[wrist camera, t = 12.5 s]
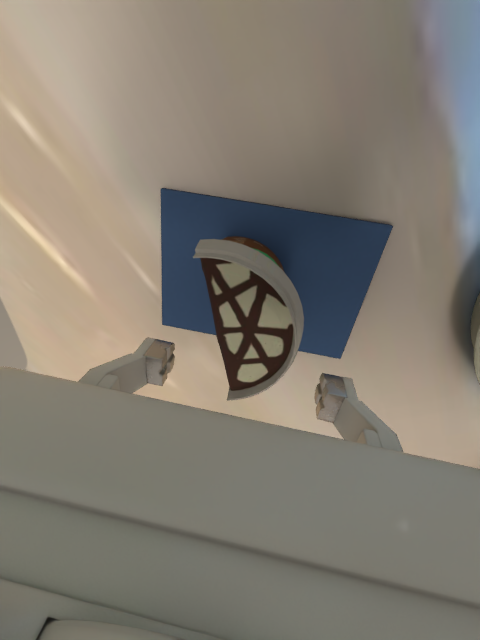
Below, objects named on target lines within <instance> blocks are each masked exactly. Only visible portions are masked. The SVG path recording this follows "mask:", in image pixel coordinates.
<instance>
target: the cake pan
mask: <svg viewBox="0 0 480 640" xmlns="http://www.w3.org/2000/svg"><path fill="white" fill-rule="evenodd" d="M471 340H472V344H473V348H474V366H475V372H476V376H477V379H478V382H479V385H480V293H479V295H478V297H477V299H476V302H475V305H474V309H473V313H472V318H471Z"/></svg>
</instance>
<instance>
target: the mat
mask: <svg viewBox="0 0 480 640" xmlns="http://www.w3.org/2000/svg"><path fill="white" fill-rule="evenodd" d="M392 228H393V226H392V225H389V224H383V223H377V222H371V221H364V220H358V219H352V218H346V217H340V216H333V215H327V214H321V213H315V212H309V211H302V210H296V209H290V208H284V207H278V206H271V205H265V204H259V203H253V202H247V201H241V200H234V199H228V198H222V197H216V196H210V195H203V194H197V193H191V192H185V191H179V190H172V189H166V188H161V250H162V325H166V326H172V327H177V328H182V329H187V330H192V331H198V332H203V333H208V334H213V335H216V330H215V325H214V319H213V314H212V308H211V303H210V298H209V294H208V289H207V284H206V280H205V276H204V272H203V270H202V265H201V260H200V258H193V256H194V255H195V253H196V252H195V248H196V246H197V244H198V243H199V241H200V240H204V239H218V240H222V239H224V238H225V237H231V236H239V237H246V238H250V239H253V240H256V241H258V242H260V243H262V244H263V245H265V246H267V247H268V248H269V249H270V250H271V251H272V252H273V253H274V254H275V255H276V256H277V258H278V259H279V261H280V262H281V264H282V266H283V269H284V272H285V274H286V275H287V276H288V278H289V279H290V280H291V282H292V283H293V285H294V287H295V289H296V291H297V293H298V295H299V298H300V301H301V304H302V309H303V315H304V328H303V334H302V338H301V342H300V345H299V349H298V351H302V352H307V353H312V354H318V355H323V356H328V357H333V358H339V359H340V358H341V356H342V353H343V351H344V348H345V346H346V343H347V341H348V338H349V336H350V333H351V331H352V328H353V325H354V323H355V320H356V318H357V315H358V313H359V310H360V308H361V305H362V303H363V300H364V298H365V295H366V293H367V290H368V288H369V285H370V283H371V280H372V278H373V275H374V273H375V270H376V268H377V265H378V263H379V260H380V258H381V255H382V253H383V250H384V248H385V245H386V243H387V240H388V238H389V235H390V233H391V230H392Z"/></svg>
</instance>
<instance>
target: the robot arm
mask: <svg viewBox="0 0 480 640" xmlns="http://www.w3.org/2000/svg"><path fill="white" fill-rule="evenodd" d="M174 350H175V344H174V343H171V342H167V341H162V340H158V339H153V338H146V339H145V340H144V341H143V343H142V344H141V345H140V346H139V348H138V349H137V350H136V351H135V352H134V354H128V355H126V356H123V357H121V358H118V359H115V360H113V361H110V362H108V363H105V364H103V365H100V366H98V367H95V368H92V369H90V370H89V371H88V372H87V373H86V374H85V375H84V376H83V377H82V378H81V379H80V380H79V381H78V382H76V381H71V380H66V379H62V378H57V377H52V376H48V375H43V374H39V373H34V372H29V371H25V370H21V369H16V368H12V367H4V366H3V367H0V640H480V469H478V468H473V467H468V466H464V465H459V464H454V463H450V462H445V461H440V460H436V459H431V458H426V457H422V456H417V455H412V454H408V453H404V452H403V450H402V447H401V445H400V442H399V440H398V437H397V435H396V434H395V433H394V432H393V431H392V430H391V429H390V428H389V427H388V426H387V425H386V424H385V423H384V422H383V421H382V420H381V419H379V418H378V417H377V416H376V415H375V414H374V413H373V412H372V411H371V410H370V409H369V408H368V407H367V406H366V405H365V404H364V403H363V402H362V401H359V400H358V397H357V394H356V391H355V387H354V384H353V381H352V379H351V378H347V377H340V376H335V375H329V374H324V373H322V374H321V376H320V383H319V384H318V385H317V387H316V390H315V403H316V404H317V407H316V415H317V419H320V420H324V421H328V422H332V423H333V424H334V426H335V427H336V428H337V430H338V431H339V433H340V434H341V436H342V437H343V438H344V440H343V439H339V438H334V437H329V436H325V435H320V434H315V433H311V432H306V431H302V430H297V429H292V428H288V427H283V426H279V425H274V424H269V423H265V422H260V421H255V420H251V419H246V418H241V417H237V416H232V415H228V414H223V413H218V412H214V411H209V410H205V409H200V408H195V407H191V406H186V405H182V404H177V403H172V402H168V401H163V400H159V399H154V398H149V397H145V396H140V395H135V394H132V393H133V392H135V391H137V390H138V389H140V388H141V387H143V386H144V385H146V384H147V383H149V384H155V385H160V386H163V384H164V382H165V380H166V379H167V373H169V372H171V370H172V368H173V365H174V359H175V356H174V354H173V351H174Z"/></svg>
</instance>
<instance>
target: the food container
mask: <svg viewBox="0 0 480 640" xmlns="http://www.w3.org/2000/svg"><path fill="white" fill-rule="evenodd" d="M195 252H196V253H195V255H194V256H193V258H200V260H201V265H202V270H203V272H204V276H205V280H206V284H207V289H208V294H209V298H210V303H211V308H212V314H213V319H214V325H215V330H216V335H217V339H218V343H219V346H220V349H221V353H222V357H223V360H224V364H225V369H226V373H227V378H228V382H229V386H230V387H229V392H228V397H227V400H239V399H243V398H248V397H251V396H254V395H257V394H259V393H261V392H263V391H265V390H267V389H268V388H270V387H271V386H272V385H274V384H275V383H276V382H277V381H278V380H279V379H280V378H281V377H282V376H283V375H284V374H285V372H286V371H287V370H288V369H289V367H290V366H291V364H292V363H293V361H294V359H295V356H296V354H297V352H298V349H299V345H300V342H301V338H302V334H303V328H304V315H303V309H302V304H301V301H300V298H299V295H298V293H297V291H296V289H295V287H294V285H293V283H292V282H291V280H290V279H289V278H288V276H287V275H286V274H285V272H284V269H283V266H282V264H281V262H280V261H279V259H278V258H277V256H276V255H275V254H274V253H273V252H272V251H271V250H270V249H269V248H268V247H267V246H265V245H263V244H262V243H260V242H258V241H256V240H253V239H250V238H246V237H239V236H231V237H225V238H224V239H222V240H218V239H204V240H200V241H199V243H198V244H197V246H196V248H195Z"/></svg>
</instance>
